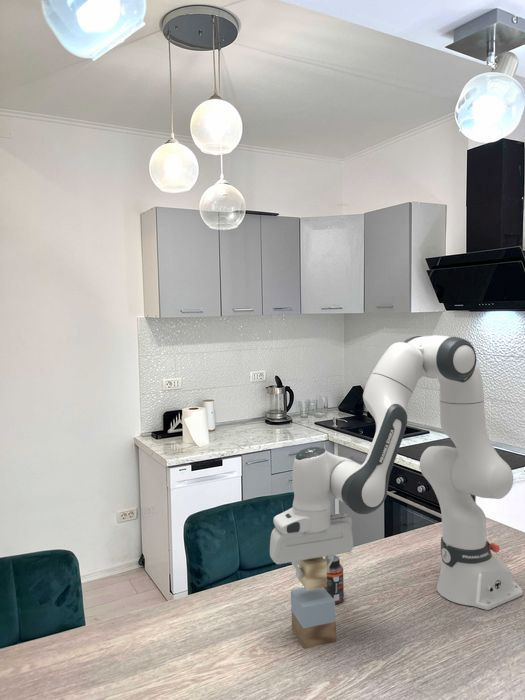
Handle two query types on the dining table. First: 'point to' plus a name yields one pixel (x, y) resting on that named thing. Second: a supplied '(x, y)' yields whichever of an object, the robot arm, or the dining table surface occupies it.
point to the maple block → (314, 573)
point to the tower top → (312, 607)
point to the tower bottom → (314, 633)
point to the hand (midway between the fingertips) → (312, 574)
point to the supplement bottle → (335, 580)
